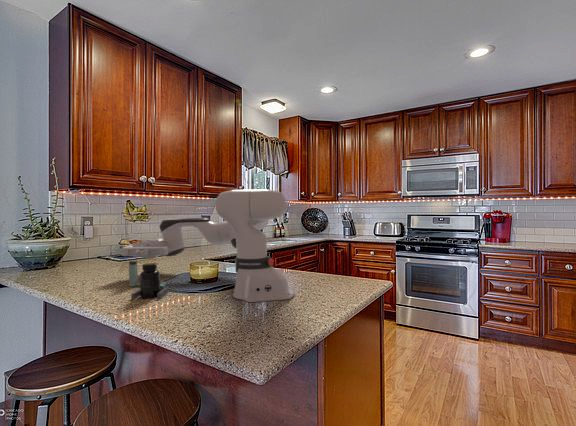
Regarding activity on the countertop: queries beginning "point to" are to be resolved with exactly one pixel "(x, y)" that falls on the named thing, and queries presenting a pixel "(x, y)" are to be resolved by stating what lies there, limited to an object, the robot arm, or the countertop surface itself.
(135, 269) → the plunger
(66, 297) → the countertop surface
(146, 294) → the supplement bottle
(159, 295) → the channel
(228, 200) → the robot arm
